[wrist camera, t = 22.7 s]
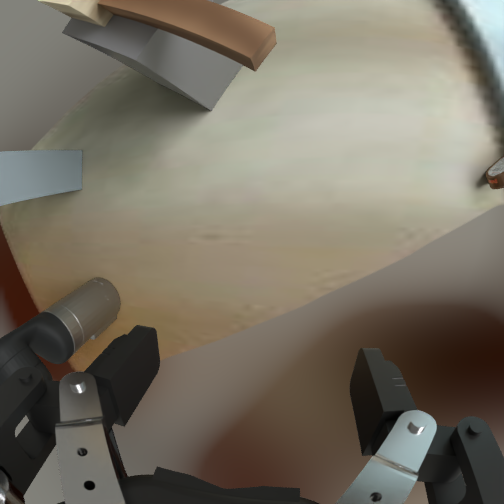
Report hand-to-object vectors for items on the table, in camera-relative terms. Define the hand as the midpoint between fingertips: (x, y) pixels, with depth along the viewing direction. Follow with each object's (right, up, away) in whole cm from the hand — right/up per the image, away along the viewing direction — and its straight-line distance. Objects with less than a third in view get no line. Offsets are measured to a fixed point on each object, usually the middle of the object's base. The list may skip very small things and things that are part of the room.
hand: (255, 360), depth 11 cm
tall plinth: (-38, +21, +41) cm, 59 cm away
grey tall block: (-9, +35, +33) cm, 49 cm away
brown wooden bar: (-7, +24, +8) cm, 27 cm away
